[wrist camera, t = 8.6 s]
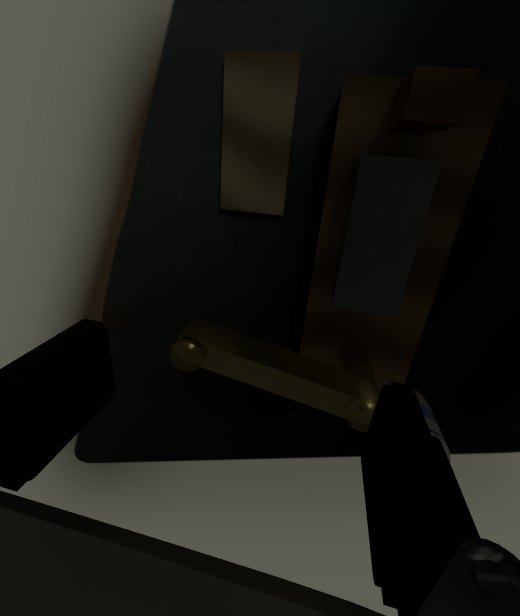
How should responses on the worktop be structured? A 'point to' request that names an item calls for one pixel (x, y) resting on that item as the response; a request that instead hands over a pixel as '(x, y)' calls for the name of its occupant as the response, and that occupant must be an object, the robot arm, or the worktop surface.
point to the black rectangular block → (381, 231)
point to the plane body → (441, 214)
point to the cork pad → (257, 129)
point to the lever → (283, 370)
